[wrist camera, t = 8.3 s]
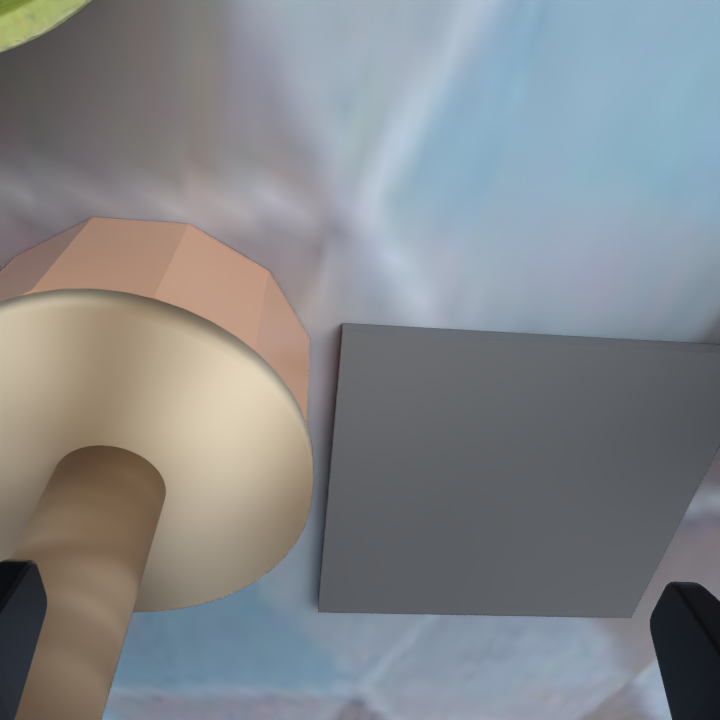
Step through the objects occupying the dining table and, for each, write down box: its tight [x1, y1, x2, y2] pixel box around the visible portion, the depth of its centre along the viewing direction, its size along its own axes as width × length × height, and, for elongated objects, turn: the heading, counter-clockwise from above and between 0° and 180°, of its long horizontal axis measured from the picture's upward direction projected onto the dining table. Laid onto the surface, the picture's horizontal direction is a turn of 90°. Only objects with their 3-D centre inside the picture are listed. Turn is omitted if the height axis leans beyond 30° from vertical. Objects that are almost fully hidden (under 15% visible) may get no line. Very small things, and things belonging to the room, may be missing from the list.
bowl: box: [0, 217, 310, 423], centre depth 19 cm, size 10×10×4 cm
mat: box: [318, 323, 720, 618], centre depth 25 cm, size 14×14×1 cm
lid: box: [0, 289, 313, 720], centre depth 15 cm, size 10×10×7 cm
